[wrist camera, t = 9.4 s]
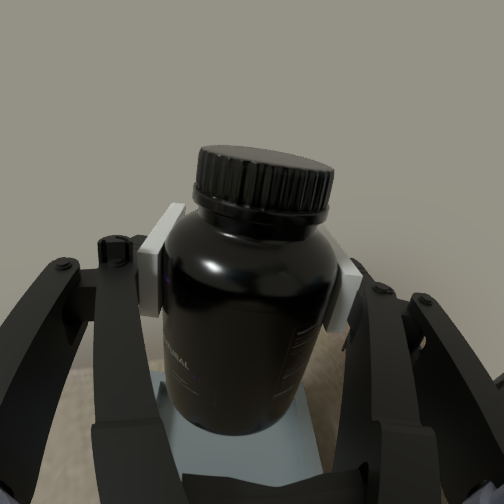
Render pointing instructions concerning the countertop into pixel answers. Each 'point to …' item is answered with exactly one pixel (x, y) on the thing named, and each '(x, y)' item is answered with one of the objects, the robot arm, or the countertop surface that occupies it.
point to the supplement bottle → (246, 287)
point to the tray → (243, 445)
